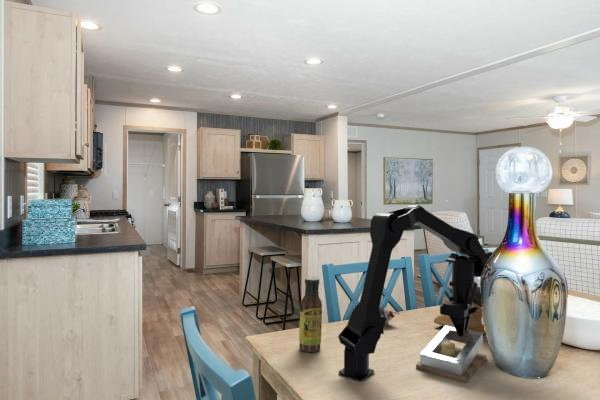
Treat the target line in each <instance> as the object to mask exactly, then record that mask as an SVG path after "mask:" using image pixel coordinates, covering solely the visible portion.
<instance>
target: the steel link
mask: <svg viewBox="0 0 600 400" xmlns="http://www.w3.org/2000/svg"><path fill="white" fill-rule="evenodd" d="M445 341H448V342H452V341H453V342H457V343H461V344H465V345H464V346H463V348H461V349H462V350H461V352H460V353H459V354H458V356H457V357H456V358H452V357H448V356H444V355H440V352H441V351H442V342H445ZM483 345H484V334H483V333H479V332H474V331H469V330H464V334H463V337H461V336H459V335H458V333H457V331H456V329H455V327H450V326H446V325H445V326H443V327H442V328H441V330H440V331H439V332H438V333H437V334H436V335H435V336H434V338H433V339H432V340H430V342H429V343H428V344H427V346H426V347H425V348H424V349H423V350H422V351H421V352H420V353H419V358H420V361H421V365H423V366H426V367H430V368H433V369H437V370H440V371H444V372H447V373H451V374H454V375H458V376H461V377H462V376H463V374H464V373H465V371H466V370H467V368H468V366H469V365H470V363H471V362H472V360H473V359H474V357H475V356H476V354H477V353H479V351H480V350H481V348H482V347H483ZM420 361H419V362H420Z"/></svg>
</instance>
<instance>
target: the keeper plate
mask: <svg viewBox="0 0 600 400" xmlns="http://www.w3.org/2000/svg"><path fill="white" fill-rule="evenodd" d="M462 349H463V348H460V347H456V343H454V341H453V342H452V341H449V342H448V341H445V342H442V351H441V352H440V355H444V356H448V357H452V358H456V357H457V356H458V354H459V353H460V352H461V350H462ZM487 355H488V354H485V353H481V352H478V353H477V354H476V356H475V357H474V359H473V360H472V362H471V363H470V365H469V366H468V368H467V370H466V371H465V373H464V374H463V376H462V377H461V376H458V375H454V374H451V373H447V372H444V371H440V370H437V369H433V368H430V367H426V366H423V365H421V361H419V362H417V363H416V364H415V369H416V370H420V371H424V372H426V373H430V374H433V375H437V376H440V377H445V378H448V379H451V380H454V381H458V382H461V383H464V384H466V383H467V382H468V381H469V380H470V379H471V377H472V376H473V375H474V374H475V373H476V371H477V370H478V369H479V368H480V367H481V366H482V364H483V363H485V361H486V360H487V359H488V358H487V357H488V356H487Z"/></svg>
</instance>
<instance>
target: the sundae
mask: <svg viewBox="0 0 600 400" xmlns="http://www.w3.org/2000/svg"><path fill="white" fill-rule="evenodd" d="M354 309H355V307H354V308H353V309H352V311H353V310H354ZM380 313H381V315H383V316H385V317H386V322H385V325H386V324H389V321H392V319H393V318H395V316H396V315H399V314H400V312H396V311H392V310H389V309H388V308H387V307H385V305H384V304H382V305H381V306H380Z"/></svg>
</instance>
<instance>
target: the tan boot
mask: <svg viewBox="0 0 600 400" xmlns="http://www.w3.org/2000/svg"><path fill="white" fill-rule="evenodd" d="M480 287H481V286H479V285H478V288H479V289H480ZM472 305H473V307H476V308H479V309H478V310H477V311H475V312H474V313H473V314H472V315H471V318H470V322H469V325H468V329H467V330H469V331H474V332H479V333H483V335H484V334H486V333H485V330H484V326H485V324H483V322H482V319H483V315H482V309H481V307H480V306H478V305H477V304H475V303H473V304H472ZM433 323H434V324H436V325H439V326H443V327H444V326H445V325H446V326H450V327H454V324H453V322H452V320H451V318H450V317H449V316H447V315H442V314H440V315H438V316H436V317H435V318H434V319H433Z"/></svg>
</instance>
